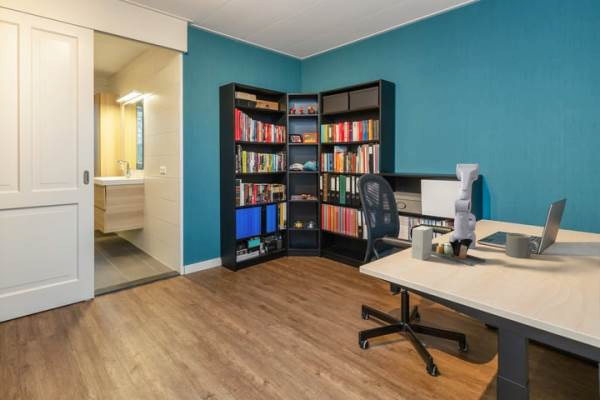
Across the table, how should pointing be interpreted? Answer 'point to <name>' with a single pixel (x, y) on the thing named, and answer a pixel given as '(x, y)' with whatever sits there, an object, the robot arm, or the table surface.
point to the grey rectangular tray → (469, 259)
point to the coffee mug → (520, 245)
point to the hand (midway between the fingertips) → (460, 255)
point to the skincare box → (421, 243)
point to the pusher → (440, 249)
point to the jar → (462, 253)
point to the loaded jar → (448, 249)
